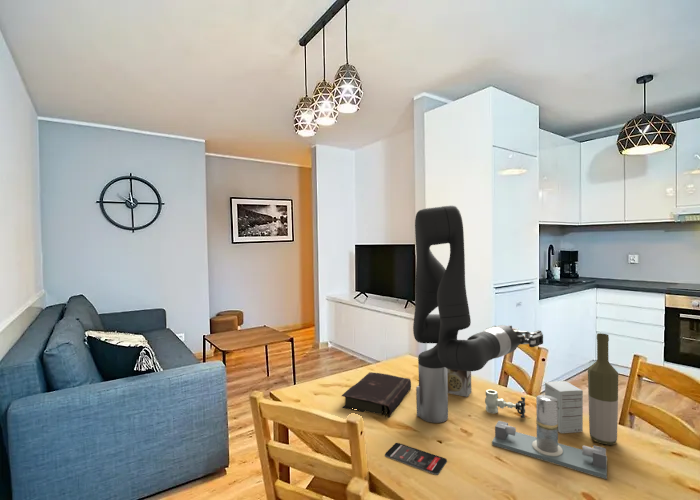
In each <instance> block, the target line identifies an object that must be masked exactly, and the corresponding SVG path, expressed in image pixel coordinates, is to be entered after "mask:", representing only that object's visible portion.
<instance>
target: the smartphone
mask: <svg viewBox="0 0 700 500" xmlns="http://www.w3.org/2000/svg"><path fill="white" fill-rule="evenodd" d="M384 457H385V458H388V459H391V460H394V461H396V462H399V463H402V464H404V465H407V466H409V467H413V468H415V469H418V470H420V471H424V472H426V473H429V474H431V475H434V476H438V475H439V474H440V473H441V472H442V470H443V469H444V467H445V465H446V464H447V463H448V460H447V458H445V457H443V456H440V455H437V454H433V453H431V452H427V451H424V450H421V449H419V448H415V447H412V446H409V445H406V444H403V443H401V442H395V443H394V444H393V445H392V446H391V447H390V448H389V449H388V450H386V452H385V453H384Z"/></svg>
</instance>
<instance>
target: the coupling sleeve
mask: <svg viewBox="0 0 700 500" xmlns="http://www.w3.org/2000/svg"><path fill="white" fill-rule="evenodd" d="M535 398H536V401H535V402H536V404H535V405H536V409H535V411H536V418H535V419H536V421H535V424H536V437H537V447H538V448H539V449H541V450H543V451H545V452H550V453H555V452H557V451H558V443H559V432H558V400H557V399H556V398H554V397H551V396H547V395H545V394H539V395H536V397H535Z"/></svg>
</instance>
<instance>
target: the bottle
mask: <svg viewBox="0 0 700 500" xmlns="http://www.w3.org/2000/svg"><path fill="white" fill-rule="evenodd" d="M609 337H610V336H609V334H607V333H601V332H600V333H597V334H596V350H597V351H596V352H597V353H596V361H594V362H593V363H592V365H590V366H589V367H588V369H587V386H588V387H587V388H588V389H587V391H588V392H587V393H588V395H587V396H588V424H589V425H588V426H589V435H590V438H591V439H592V440H593V441H595V442H596V443H600V444H603V445H608V446H610V445H611V446H612V445H616V443H617V441H618V419H619V418H618V412H619V408H618V407H619V372H618V371H617V369H616V368H614V366H613V365H612V364H611V363H610V361H609V341H610V339H609Z"/></svg>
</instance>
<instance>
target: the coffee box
mask: <svg viewBox="0 0 700 500" xmlns="http://www.w3.org/2000/svg"><path fill="white" fill-rule="evenodd" d="M447 373H448V394H449V395H450V394H451V395H456V396H460V397H461V396H462V397H466V398H468V397H469V396H470V395H471V393H472V390H473V389H472V371H461V370H451V369H447Z"/></svg>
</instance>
